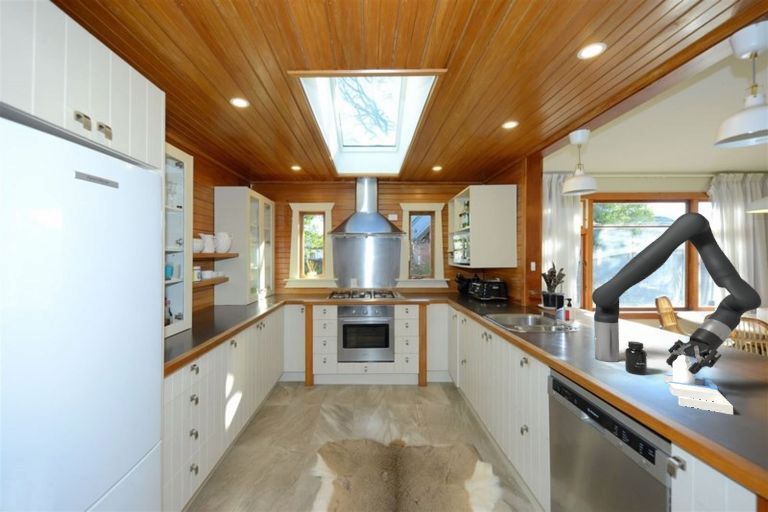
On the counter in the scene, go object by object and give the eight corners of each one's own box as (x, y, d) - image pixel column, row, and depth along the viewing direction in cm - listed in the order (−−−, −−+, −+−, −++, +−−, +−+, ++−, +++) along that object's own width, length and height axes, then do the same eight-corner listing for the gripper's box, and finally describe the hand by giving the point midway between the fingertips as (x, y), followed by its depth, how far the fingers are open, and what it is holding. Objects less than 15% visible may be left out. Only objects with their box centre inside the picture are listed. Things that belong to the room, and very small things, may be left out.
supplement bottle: (641, 376, 126) (640, 345, 126) (622, 371, 132) (621, 341, 132) (650, 373, 129) (649, 343, 129) (631, 368, 135) (630, 339, 135)
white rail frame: (679, 405, 101) (679, 394, 101) (664, 381, 121) (664, 372, 121) (734, 414, 95) (733, 402, 95) (708, 387, 114) (708, 377, 114)
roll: (689, 353, 116) (698, 357, 110) (690, 386, 115) (699, 392, 110) (669, 351, 118) (676, 356, 112) (669, 384, 118) (677, 390, 112)
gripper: (683, 323, 121) (654, 354, 121) (724, 332, 107) (691, 367, 107) (697, 337, 121) (668, 368, 121) (740, 347, 107) (707, 383, 107)
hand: (679, 368), depth 114 cm, fingers open, 8 cm apart
